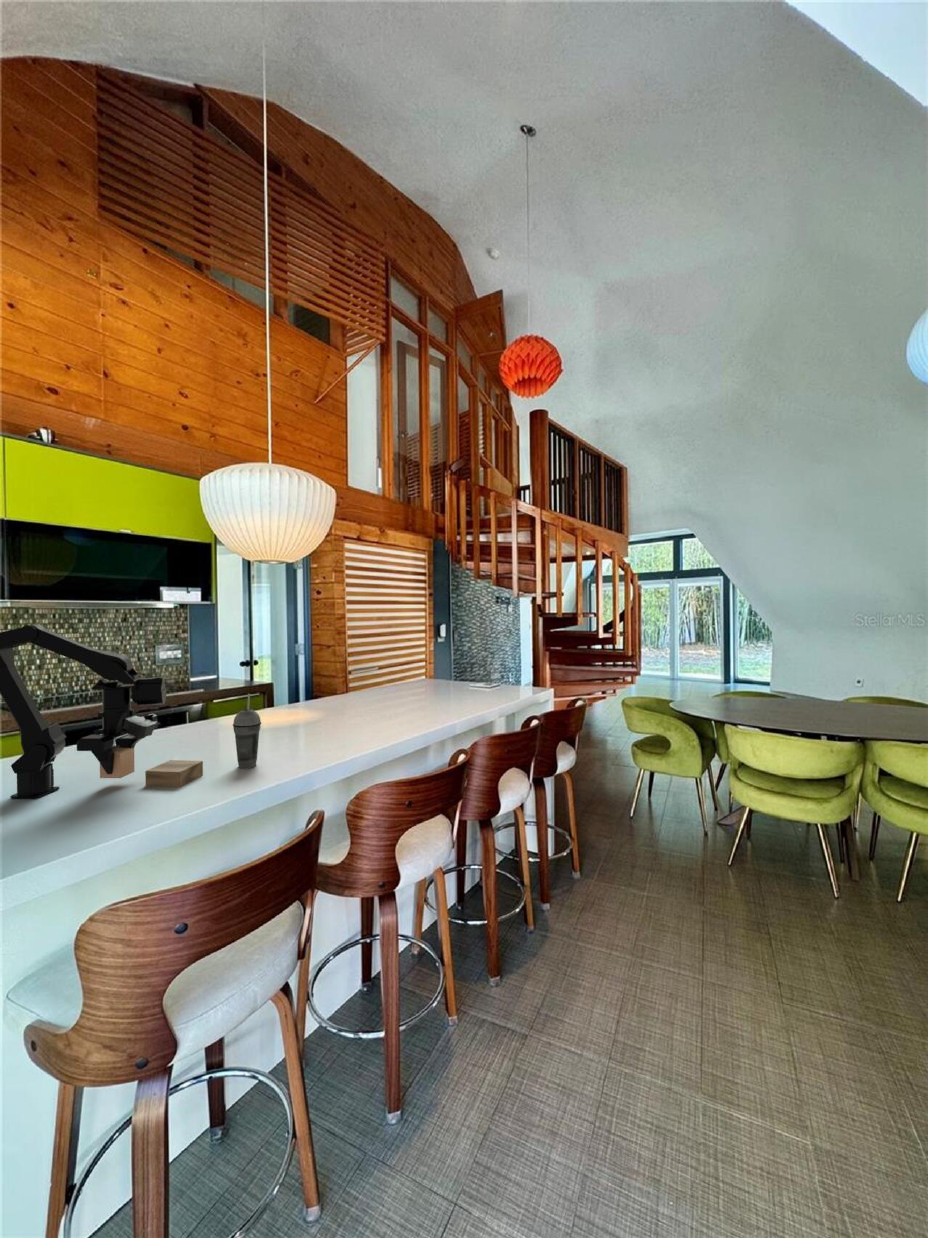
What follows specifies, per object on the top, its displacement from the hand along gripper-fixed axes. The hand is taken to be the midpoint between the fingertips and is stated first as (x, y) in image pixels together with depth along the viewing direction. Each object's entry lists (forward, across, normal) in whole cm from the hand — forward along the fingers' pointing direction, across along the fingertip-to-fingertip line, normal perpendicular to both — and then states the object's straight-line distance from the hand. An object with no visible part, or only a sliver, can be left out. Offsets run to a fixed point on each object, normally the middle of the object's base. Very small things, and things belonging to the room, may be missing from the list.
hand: (117, 770), depth 125 cm
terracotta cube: (+1, 0, 0) cm, 1 cm away
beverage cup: (+4, +16, -25) cm, 30 cm away
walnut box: (+4, +4, -12) cm, 13 cm away
